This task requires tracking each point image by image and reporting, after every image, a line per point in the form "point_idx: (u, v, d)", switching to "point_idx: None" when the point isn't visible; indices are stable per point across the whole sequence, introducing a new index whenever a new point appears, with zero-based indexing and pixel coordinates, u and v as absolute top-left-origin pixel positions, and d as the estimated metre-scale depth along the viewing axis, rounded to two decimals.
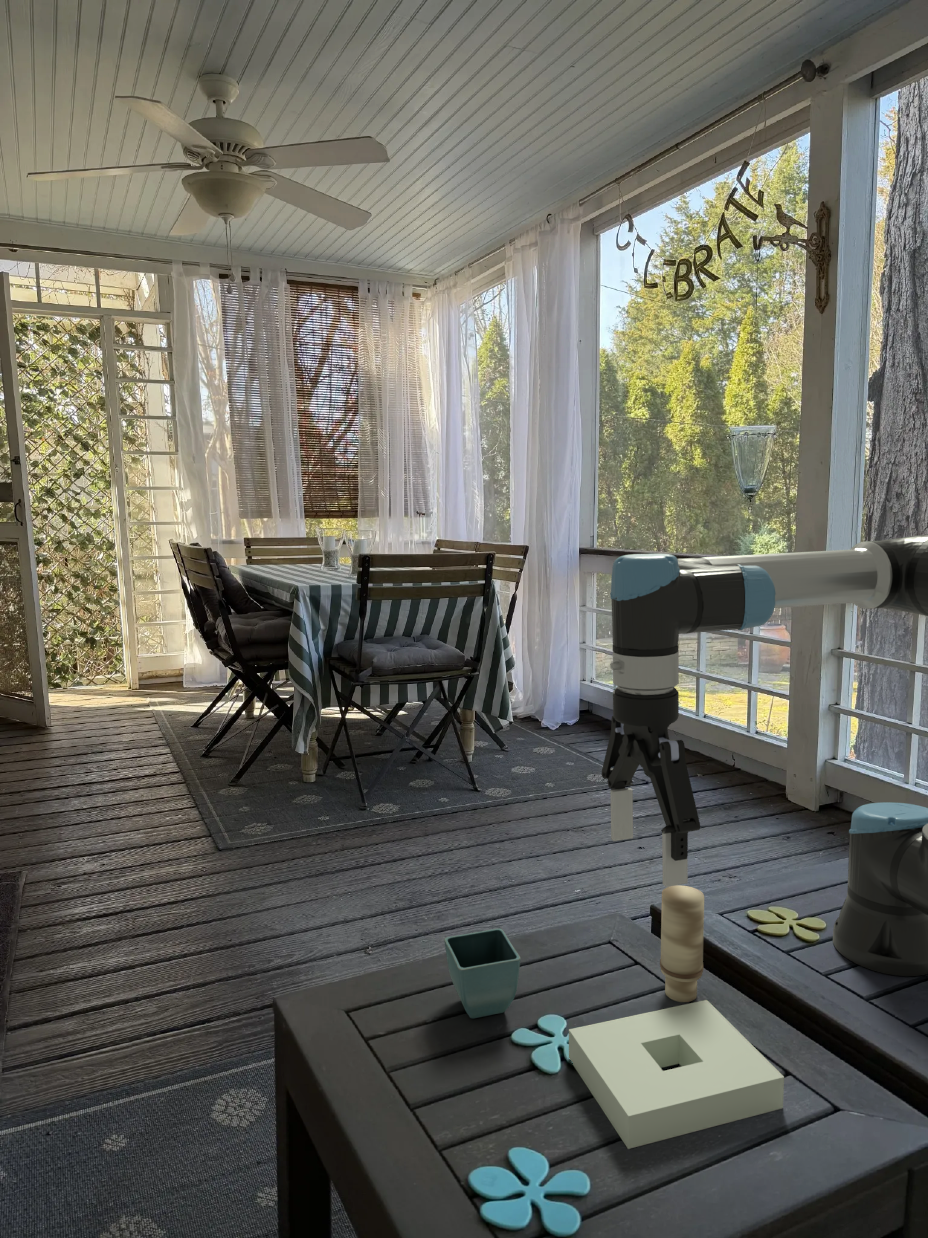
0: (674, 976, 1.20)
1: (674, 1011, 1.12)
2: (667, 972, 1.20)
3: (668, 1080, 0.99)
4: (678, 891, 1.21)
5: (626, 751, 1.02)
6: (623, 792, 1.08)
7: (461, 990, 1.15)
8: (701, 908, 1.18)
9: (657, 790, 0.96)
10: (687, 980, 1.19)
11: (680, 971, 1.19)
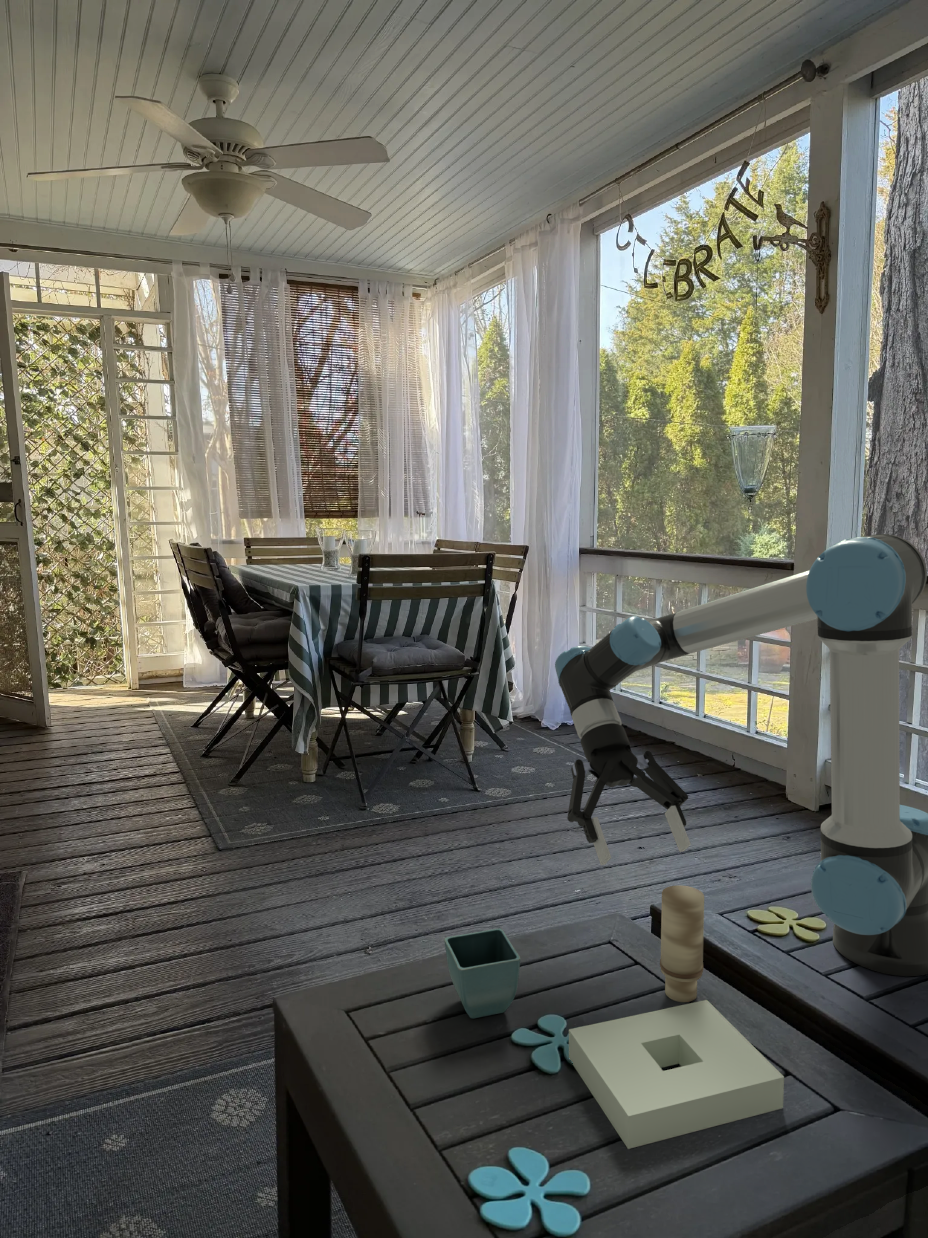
0: (674, 976, 1.20)
1: (674, 1011, 1.12)
2: (667, 972, 1.20)
3: (668, 1080, 0.99)
4: (678, 891, 1.21)
5: None
6: (668, 810, 1.35)
7: (461, 990, 1.15)
8: (701, 908, 1.18)
9: None
10: (687, 980, 1.19)
11: (680, 971, 1.19)
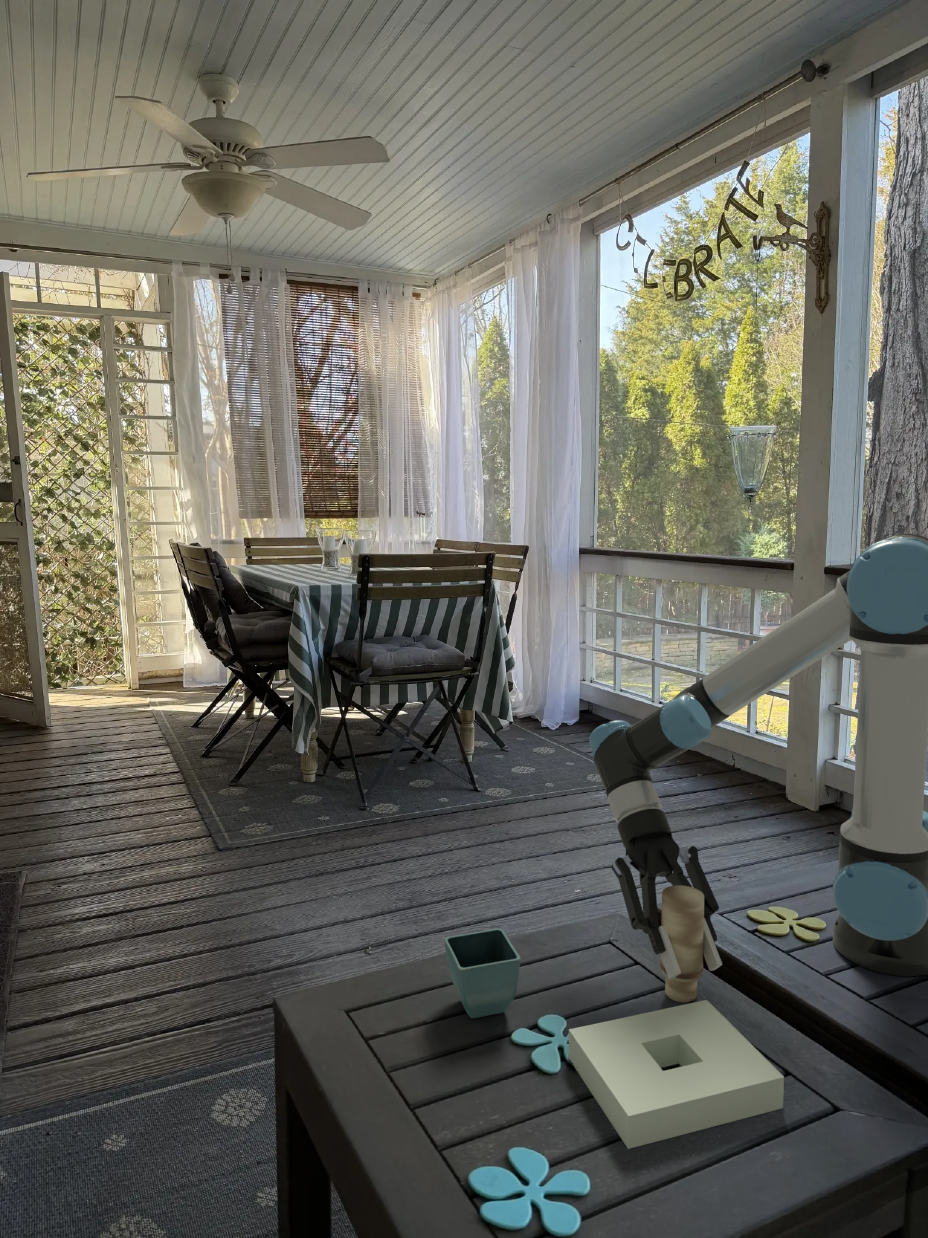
0: None
1: (674, 1011, 1.12)
2: None
3: (668, 1080, 0.99)
4: (678, 891, 1.21)
5: None
6: None
7: (461, 990, 1.15)
8: (701, 908, 1.18)
9: None
10: (687, 980, 1.19)
11: None
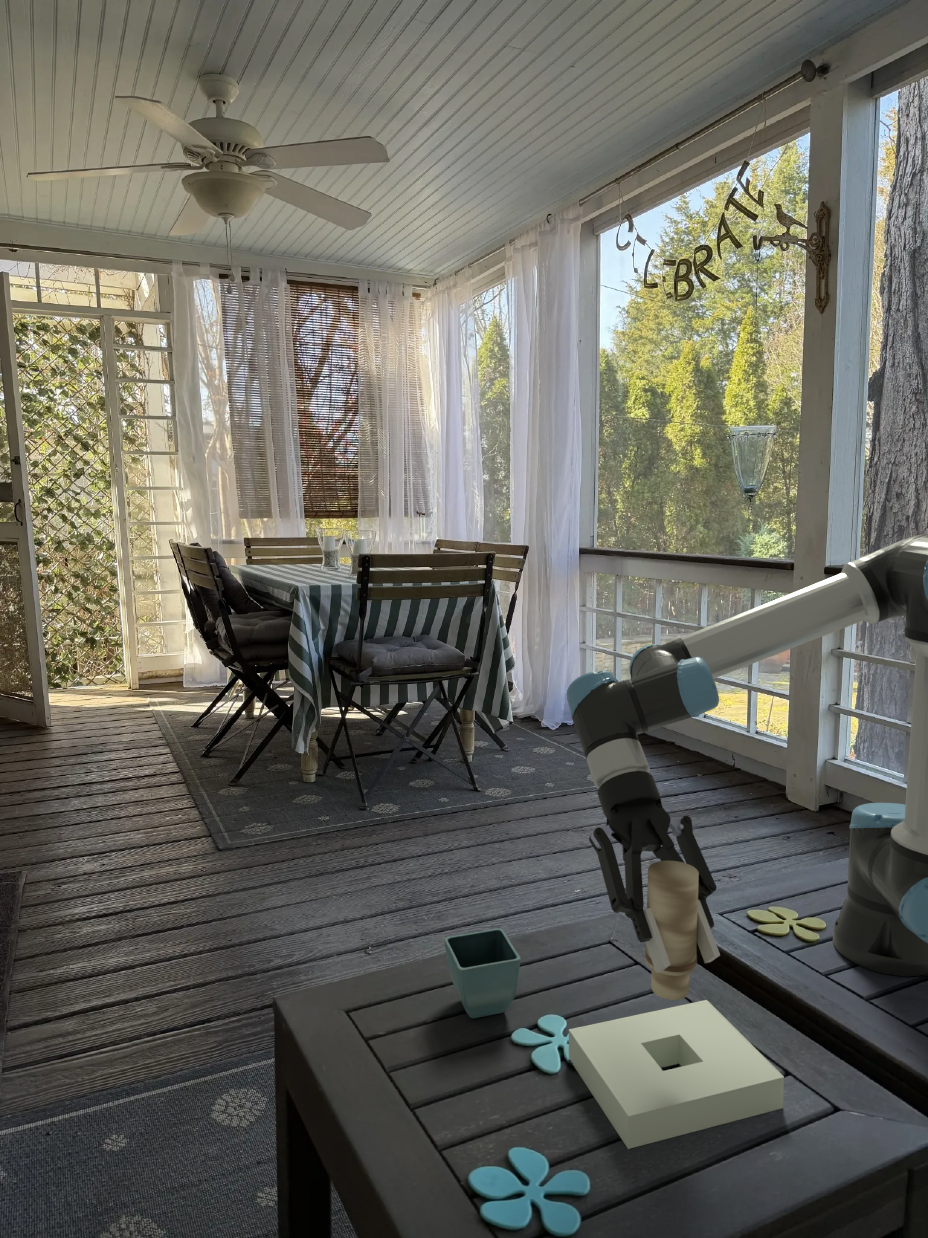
0: None
1: (674, 1011, 1.12)
2: None
3: (668, 1080, 0.99)
4: (667, 867, 1.01)
5: None
6: None
7: (461, 990, 1.15)
8: (695, 886, 0.98)
9: None
10: (677, 973, 0.99)
11: None
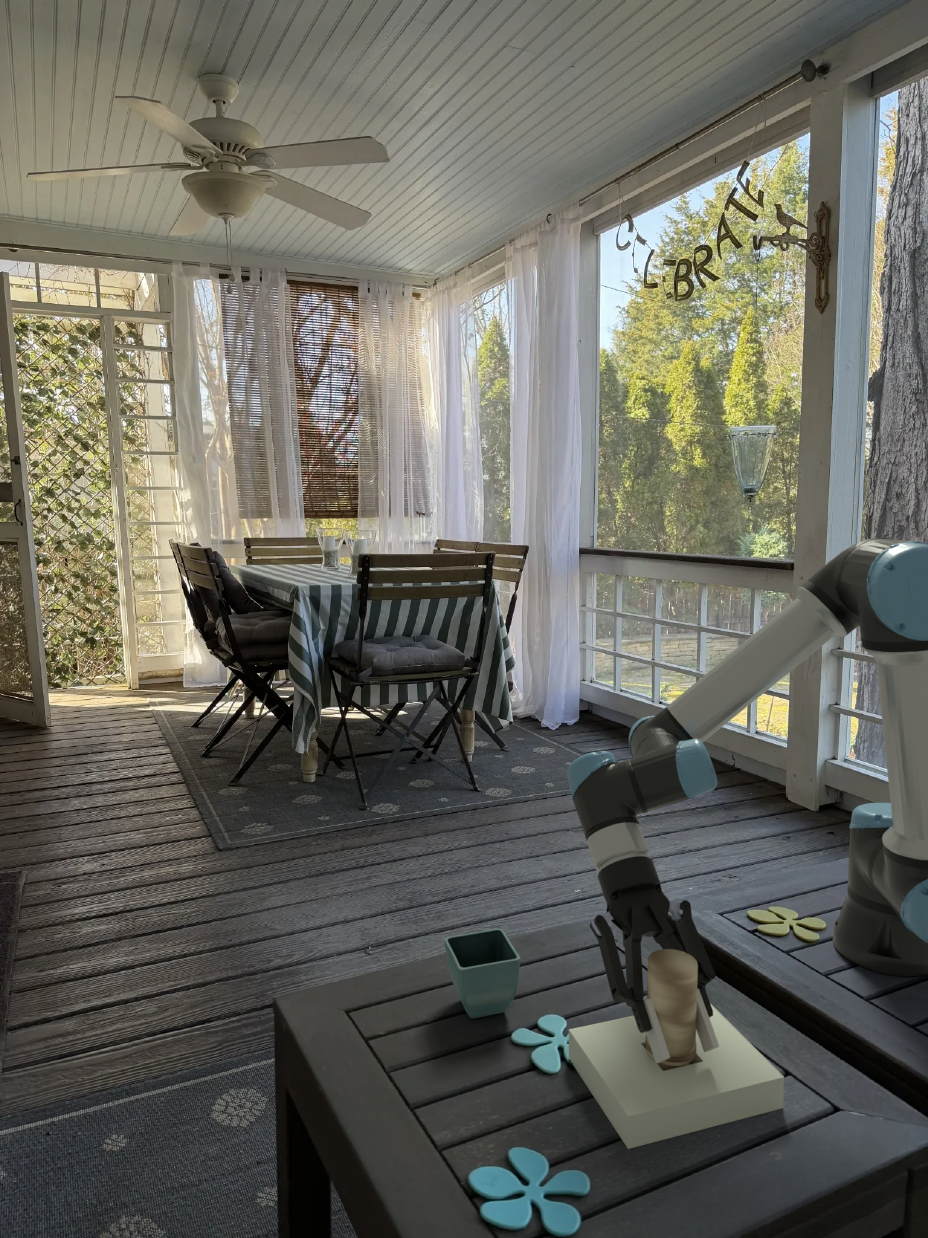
0: None
1: None
2: None
3: (668, 1080, 0.99)
4: (667, 957, 1.03)
5: None
6: None
7: (461, 990, 1.15)
8: (694, 979, 1.00)
9: None
10: (676, 1063, 1.01)
11: (669, 1053, 1.01)
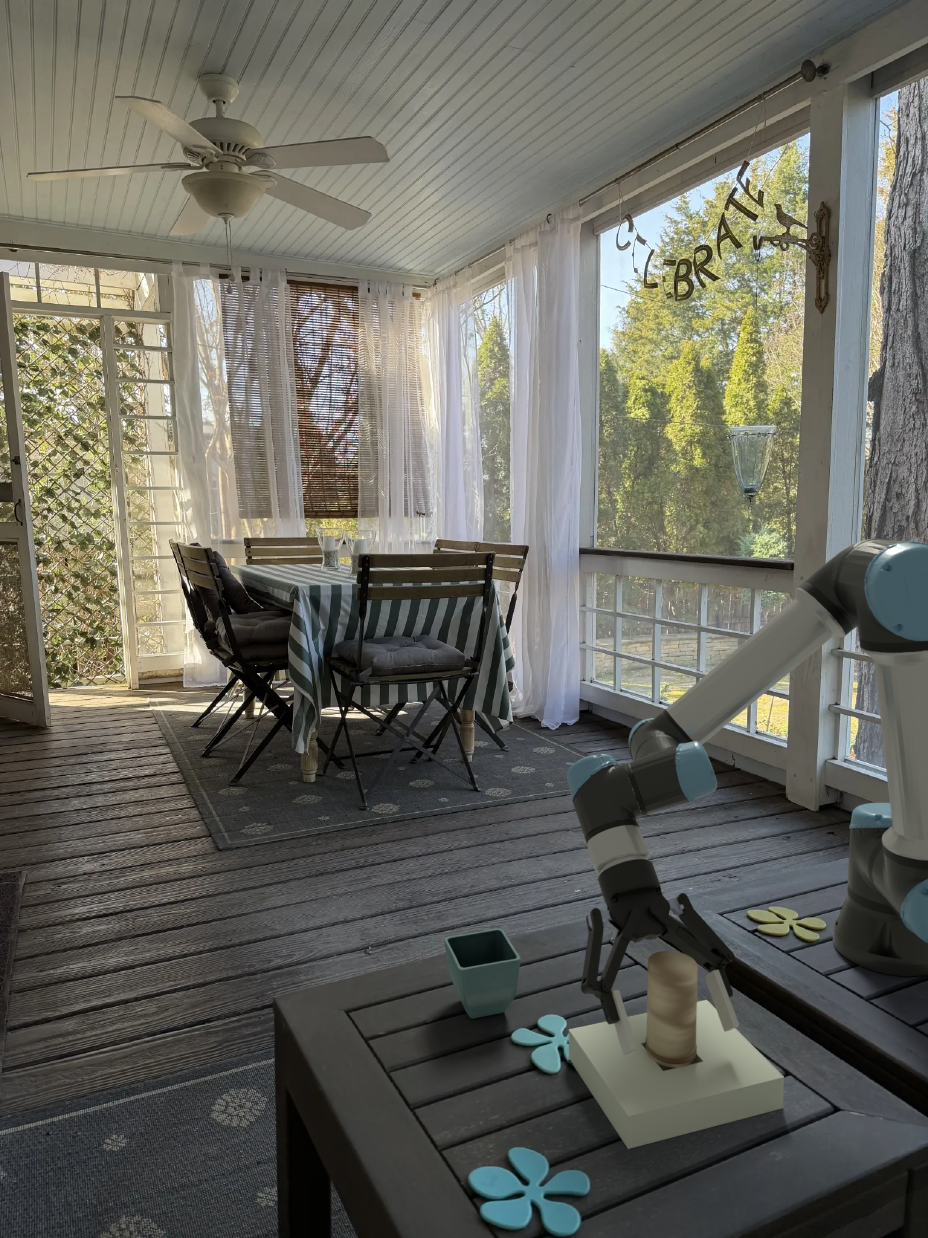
0: (662, 1060, 1.01)
1: None
2: (654, 1055, 1.02)
3: (668, 1080, 0.99)
4: (667, 959, 1.03)
5: None
6: (710, 975, 1.06)
7: (461, 990, 1.15)
8: (694, 980, 1.00)
9: None
10: (677, 1065, 1.01)
11: (669, 1055, 1.01)
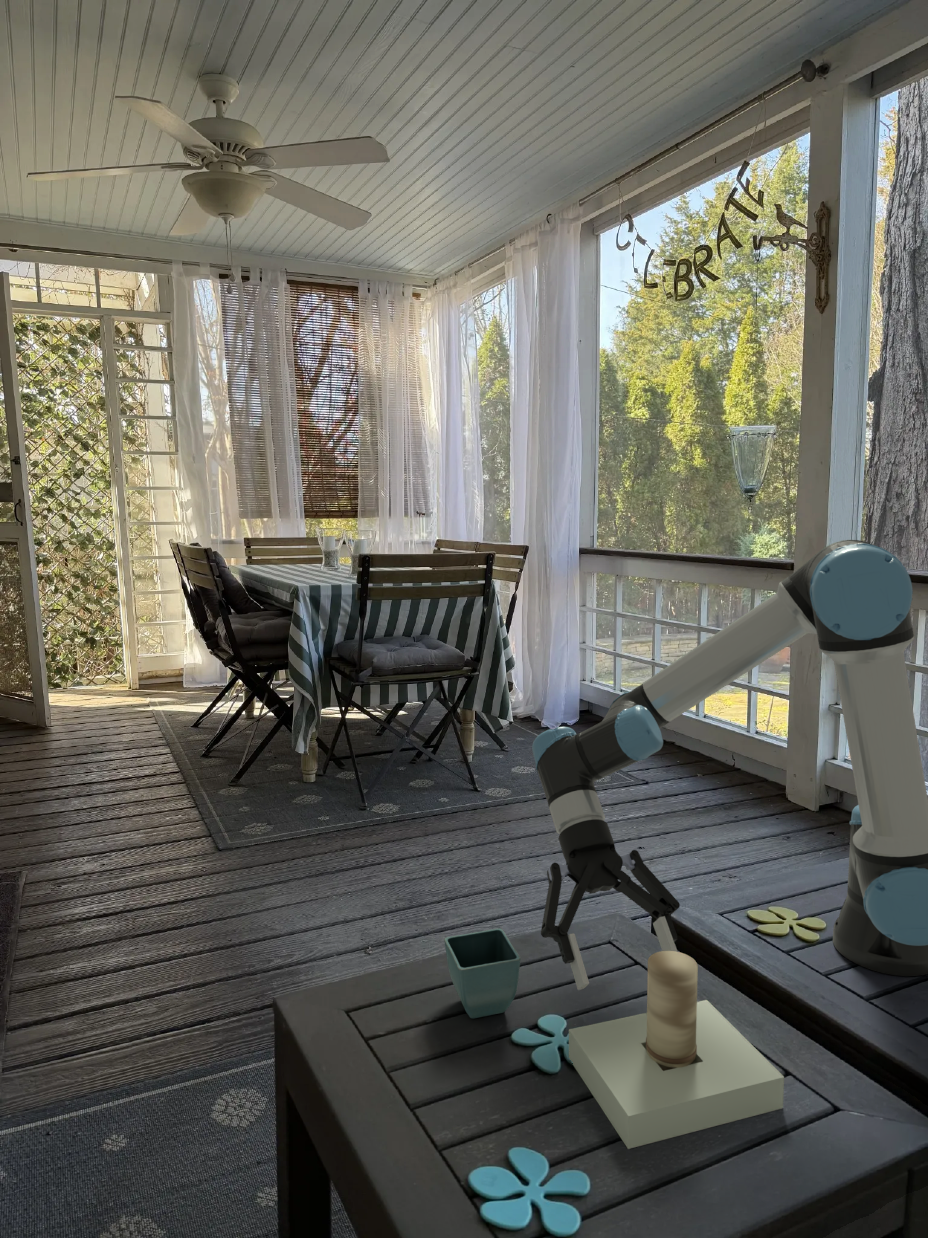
0: (662, 1060, 1.01)
1: None
2: (654, 1055, 1.02)
3: (668, 1080, 0.99)
4: (667, 959, 1.03)
5: None
6: (657, 922, 1.19)
7: (461, 990, 1.15)
8: (694, 980, 1.00)
9: None
10: (677, 1065, 1.01)
11: (669, 1055, 1.01)
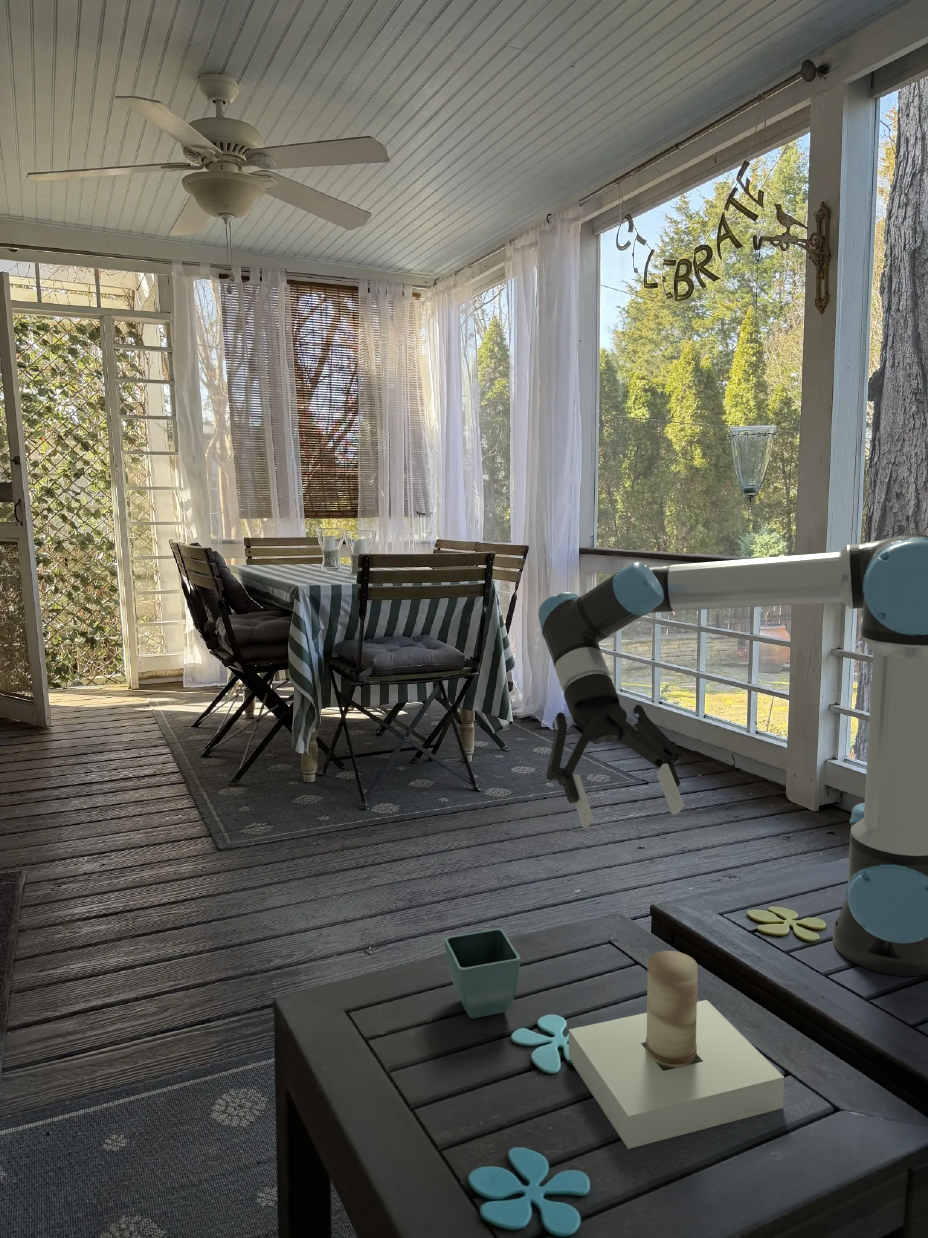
0: (662, 1060, 1.01)
1: None
2: (654, 1055, 1.02)
3: (668, 1080, 0.99)
4: (667, 959, 1.03)
5: None
6: (660, 769, 1.21)
7: (461, 990, 1.15)
8: (694, 980, 1.00)
9: None
10: (677, 1065, 1.01)
11: (669, 1055, 1.01)
